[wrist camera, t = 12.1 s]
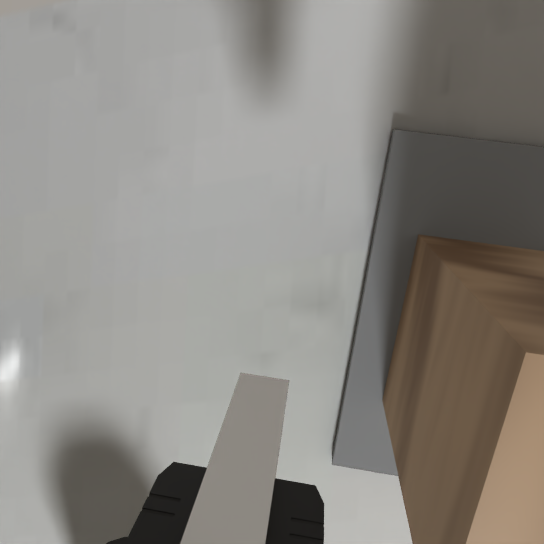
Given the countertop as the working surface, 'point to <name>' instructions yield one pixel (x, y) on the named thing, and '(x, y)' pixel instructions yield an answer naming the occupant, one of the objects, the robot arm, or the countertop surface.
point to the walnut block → (470, 394)
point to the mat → (401, 246)
